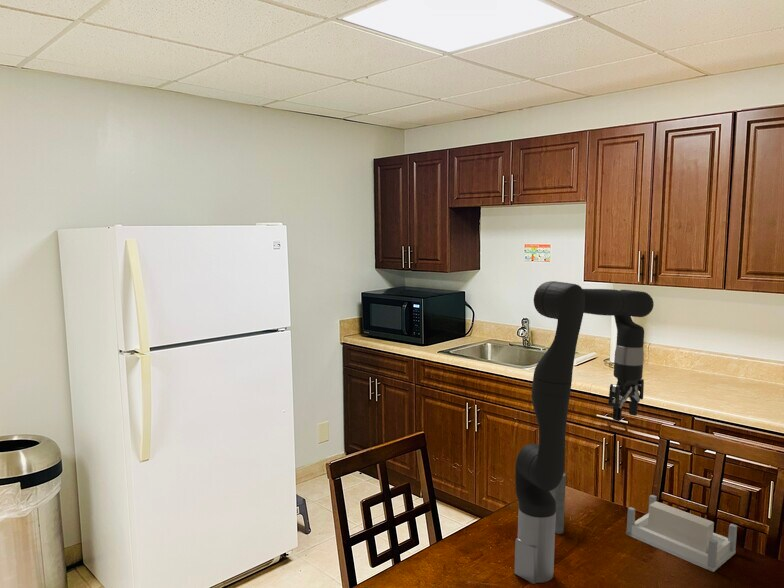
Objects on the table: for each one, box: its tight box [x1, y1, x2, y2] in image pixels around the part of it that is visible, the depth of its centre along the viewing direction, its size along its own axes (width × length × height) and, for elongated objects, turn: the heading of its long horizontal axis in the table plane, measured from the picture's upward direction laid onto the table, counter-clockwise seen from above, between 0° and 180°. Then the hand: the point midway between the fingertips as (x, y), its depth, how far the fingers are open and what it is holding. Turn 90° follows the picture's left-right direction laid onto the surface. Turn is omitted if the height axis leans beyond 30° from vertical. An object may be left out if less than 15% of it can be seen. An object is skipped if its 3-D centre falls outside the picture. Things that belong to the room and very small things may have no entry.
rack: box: [625, 494, 738, 573], centre depth 166 cm, size 14×24×8 cm, turn 39°
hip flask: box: [550, 472, 567, 535], centre depth 178 cm, size 16×4×20 cm, turn 1°
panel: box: [648, 500, 715, 554], centre depth 166 cm, size 4×16×8 cm, turn 40°
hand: (625, 417), depth 168 cm, fingers open, 8 cm apart
